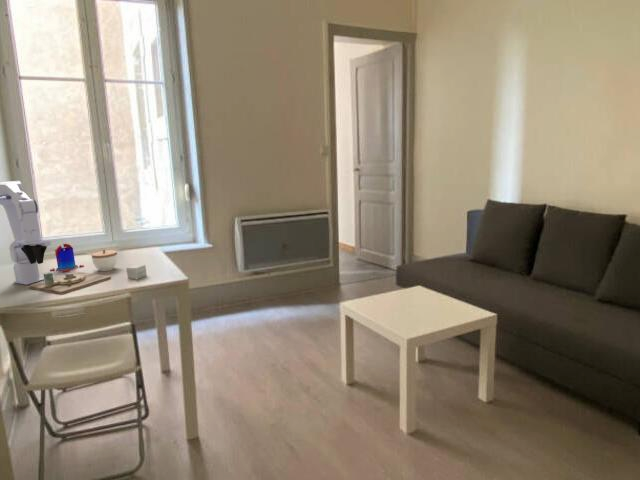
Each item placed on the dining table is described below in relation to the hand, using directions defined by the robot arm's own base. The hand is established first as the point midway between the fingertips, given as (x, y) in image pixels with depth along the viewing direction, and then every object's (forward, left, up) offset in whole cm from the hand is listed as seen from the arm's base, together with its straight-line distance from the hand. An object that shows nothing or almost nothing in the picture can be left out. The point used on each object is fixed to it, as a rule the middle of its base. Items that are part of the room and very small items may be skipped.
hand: (36, 263), depth 184 cm
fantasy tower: (-20, +24, -11) cm, 33 cm away
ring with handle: (+5, +7, -9) cm, 13 cm away
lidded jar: (0, +30, -11) cm, 32 cm away
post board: (+5, +9, -10) cm, 15 cm away
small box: (+25, +26, -11) cm, 38 cm away
